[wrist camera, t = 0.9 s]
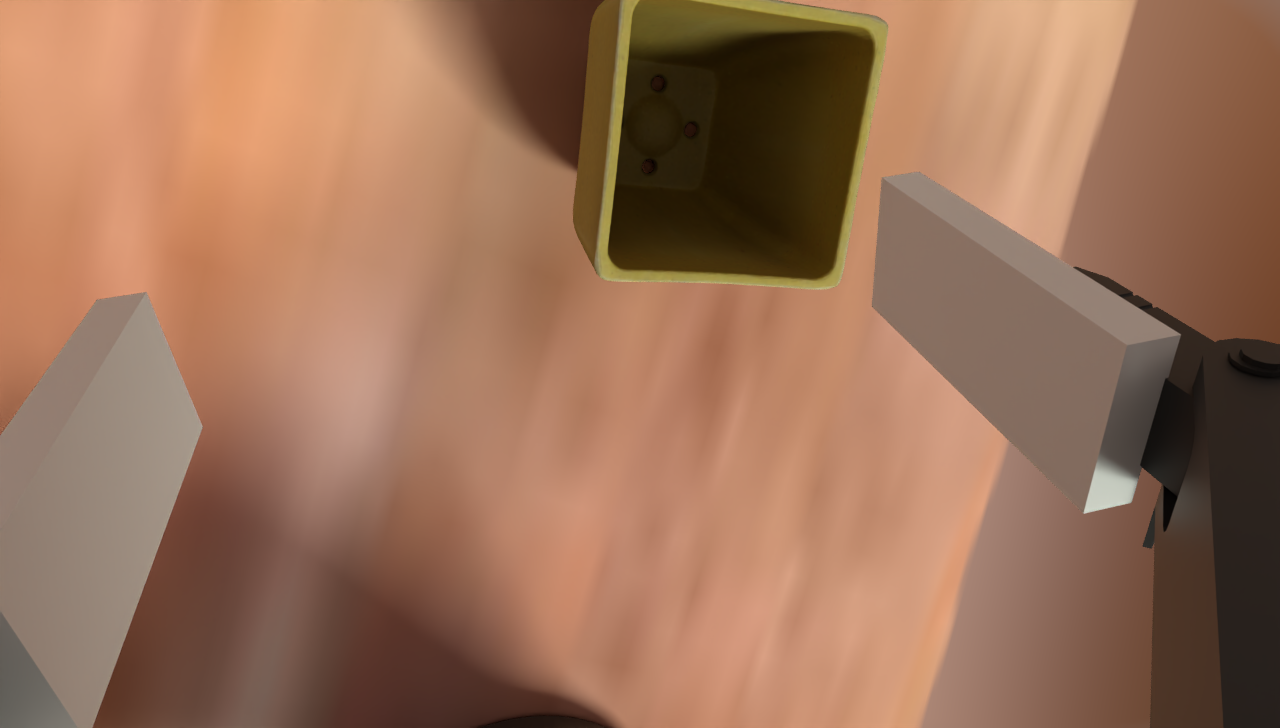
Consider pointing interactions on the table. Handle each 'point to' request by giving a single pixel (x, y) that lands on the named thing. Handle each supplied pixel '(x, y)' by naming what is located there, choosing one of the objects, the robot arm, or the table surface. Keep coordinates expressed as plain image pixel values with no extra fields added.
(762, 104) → the flower pot
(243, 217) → the table surface
